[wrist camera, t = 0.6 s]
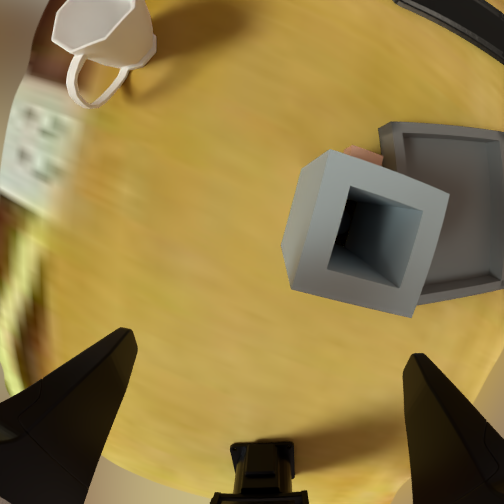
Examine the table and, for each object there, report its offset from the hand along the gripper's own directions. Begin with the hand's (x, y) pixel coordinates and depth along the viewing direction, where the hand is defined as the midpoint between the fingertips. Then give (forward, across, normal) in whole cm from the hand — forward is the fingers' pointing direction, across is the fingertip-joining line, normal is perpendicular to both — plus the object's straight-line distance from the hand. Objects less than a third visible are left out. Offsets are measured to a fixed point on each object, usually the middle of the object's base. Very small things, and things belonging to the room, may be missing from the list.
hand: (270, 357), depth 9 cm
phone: (+24, -17, -20) cm, 36 cm away
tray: (+17, -14, 0) cm, 22 cm away
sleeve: (+16, -3, +2) cm, 16 cm away
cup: (+19, +14, -10) cm, 26 cm away
